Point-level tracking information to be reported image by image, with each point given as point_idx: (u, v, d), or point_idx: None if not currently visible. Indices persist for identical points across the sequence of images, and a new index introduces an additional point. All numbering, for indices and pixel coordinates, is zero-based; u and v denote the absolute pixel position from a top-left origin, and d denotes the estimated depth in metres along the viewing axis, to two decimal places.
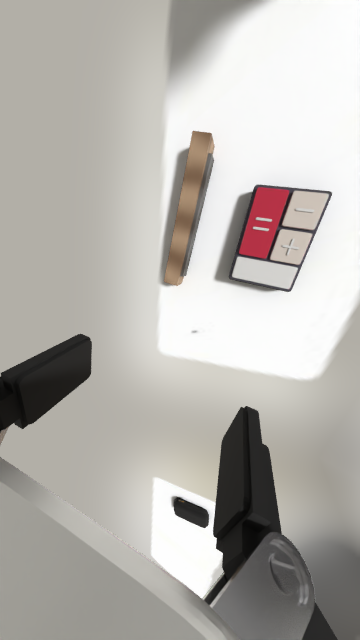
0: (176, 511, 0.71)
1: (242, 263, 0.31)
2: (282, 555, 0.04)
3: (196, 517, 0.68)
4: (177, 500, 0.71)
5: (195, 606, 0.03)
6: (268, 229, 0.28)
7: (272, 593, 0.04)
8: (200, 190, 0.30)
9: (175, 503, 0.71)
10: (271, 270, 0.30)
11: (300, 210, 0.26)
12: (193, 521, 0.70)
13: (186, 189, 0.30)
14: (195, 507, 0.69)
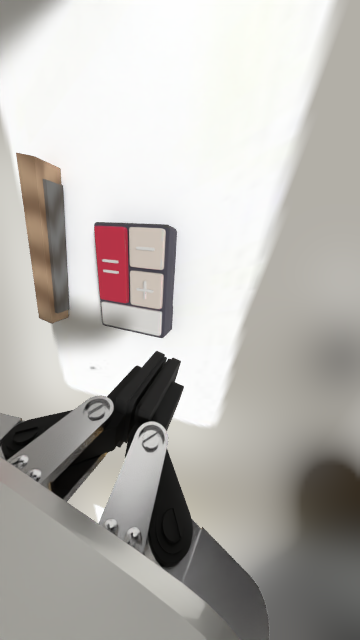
0: None
1: (107, 309, 0.26)
2: (148, 433, 0.06)
3: None
4: None
5: (195, 606, 0.03)
6: (117, 271, 0.23)
7: (133, 445, 0.06)
8: (47, 221, 0.25)
9: None
10: (136, 316, 0.25)
11: (141, 249, 0.21)
12: None
13: (30, 219, 0.25)
14: None
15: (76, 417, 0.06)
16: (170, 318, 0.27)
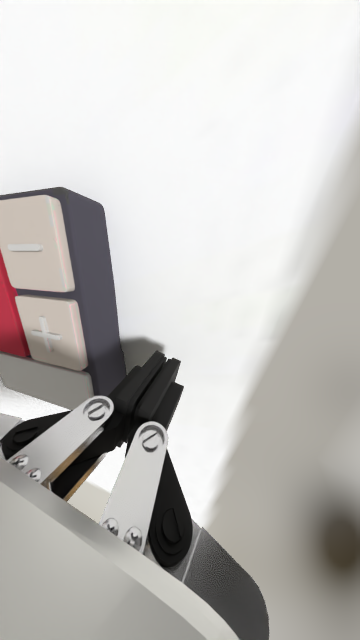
0: None
1: (4, 364, 0.14)
2: (148, 433, 0.06)
3: None
4: None
5: (195, 606, 0.03)
6: None
7: (134, 445, 0.06)
8: None
9: None
10: (48, 379, 0.13)
11: (17, 249, 0.10)
12: None
13: None
14: None
15: (76, 417, 0.06)
16: (119, 375, 0.14)
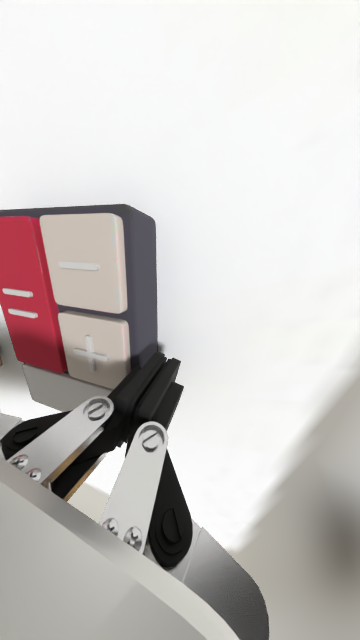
0: None
1: (34, 378, 0.14)
2: (148, 433, 0.06)
3: None
4: None
5: (195, 607, 0.03)
6: (33, 314, 0.11)
7: (133, 446, 0.06)
8: None
9: None
10: (84, 396, 0.12)
11: (69, 267, 0.09)
12: None
13: None
14: None
15: (76, 417, 0.06)
16: None
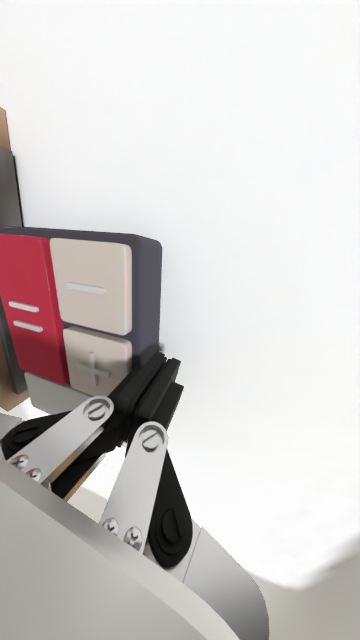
0: None
1: (35, 386, 0.14)
2: (148, 433, 0.06)
3: None
4: None
5: (195, 605, 0.03)
6: (38, 328, 0.11)
7: (133, 445, 0.06)
8: None
9: None
10: None
11: (77, 288, 0.09)
12: None
13: None
14: None
15: (76, 417, 0.06)
16: None
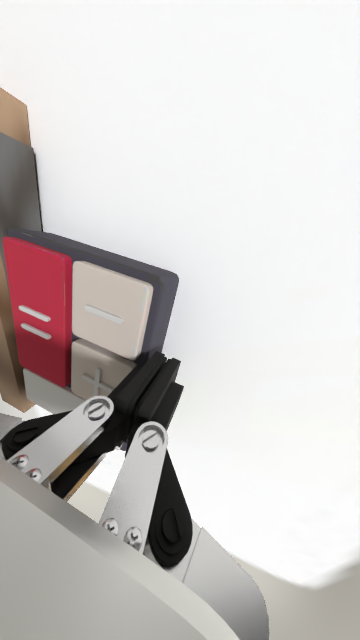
0: None
1: (33, 382, 0.15)
2: (148, 433, 0.06)
3: None
4: None
5: (195, 607, 0.03)
6: (47, 336, 0.12)
7: (133, 446, 0.06)
8: None
9: None
10: None
11: (94, 312, 0.10)
12: None
13: None
14: None
15: (76, 417, 0.06)
16: None
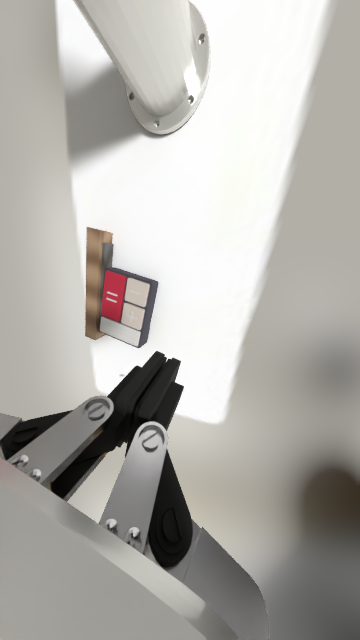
0: None
1: (104, 322, 0.38)
2: (148, 433, 0.06)
3: None
4: None
5: (195, 606, 0.03)
6: (115, 301, 0.36)
7: (134, 445, 0.06)
8: (101, 268, 0.35)
9: None
10: (123, 331, 0.37)
11: (133, 292, 0.34)
12: None
13: (89, 267, 0.35)
14: None
15: (76, 417, 0.06)
16: (146, 335, 0.39)
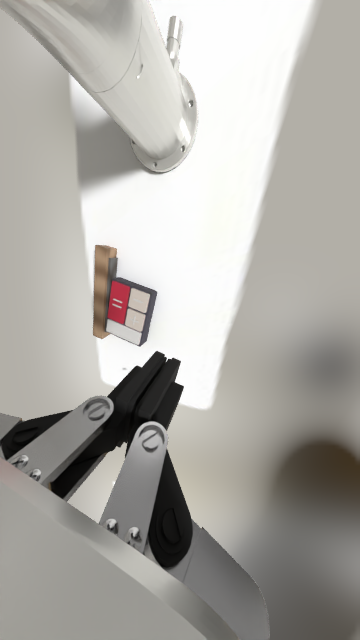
0: None
1: (110, 324, 0.45)
2: (148, 433, 0.06)
3: None
4: None
5: (195, 607, 0.03)
6: (120, 307, 0.42)
7: (133, 446, 0.06)
8: (107, 279, 0.41)
9: None
10: (127, 331, 0.44)
11: (135, 300, 0.40)
12: None
13: (97, 278, 0.41)
14: None
15: (76, 417, 0.06)
16: (146, 335, 0.46)
